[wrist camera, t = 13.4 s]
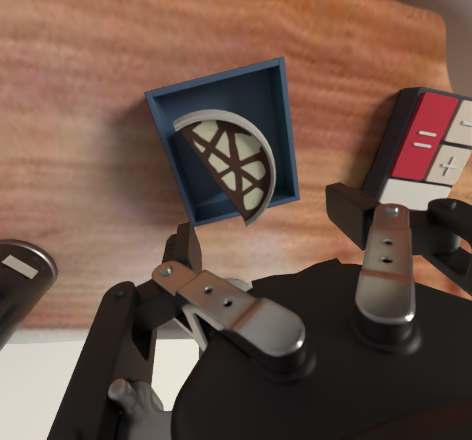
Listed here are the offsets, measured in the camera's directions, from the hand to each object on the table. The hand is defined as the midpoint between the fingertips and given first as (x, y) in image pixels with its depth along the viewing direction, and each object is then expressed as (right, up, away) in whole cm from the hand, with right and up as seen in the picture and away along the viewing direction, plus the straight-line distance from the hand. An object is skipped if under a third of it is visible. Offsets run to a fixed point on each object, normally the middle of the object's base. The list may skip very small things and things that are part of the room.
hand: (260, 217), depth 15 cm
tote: (-2, +10, +17) cm, 20 cm away
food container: (-2, +9, +17) cm, 19 cm away
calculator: (+23, +9, +21) cm, 33 cm away
